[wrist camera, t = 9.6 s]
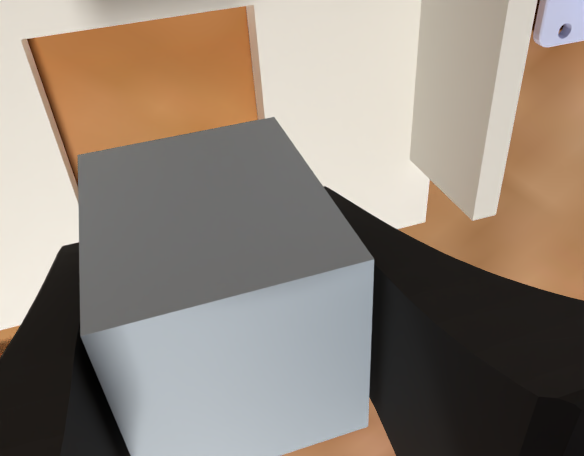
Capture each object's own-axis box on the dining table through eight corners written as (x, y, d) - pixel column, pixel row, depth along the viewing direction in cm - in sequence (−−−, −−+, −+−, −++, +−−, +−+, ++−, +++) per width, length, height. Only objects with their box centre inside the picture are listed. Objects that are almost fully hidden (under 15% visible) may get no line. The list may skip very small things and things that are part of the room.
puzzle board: (472, -492, 12) (669, -651, 8) (413, 208, 22) (484, 287, 19) (-643, -549, 8) (-1329, -914, 4) (-72, 328, 19) (-109, 458, 15)
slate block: (274, 116, 12) (374, 259, 8) (286, 261, 14) (367, 426, 10) (77, 155, 11) (80, 336, 7) (126, 302, 13) (148, 498, 9)
